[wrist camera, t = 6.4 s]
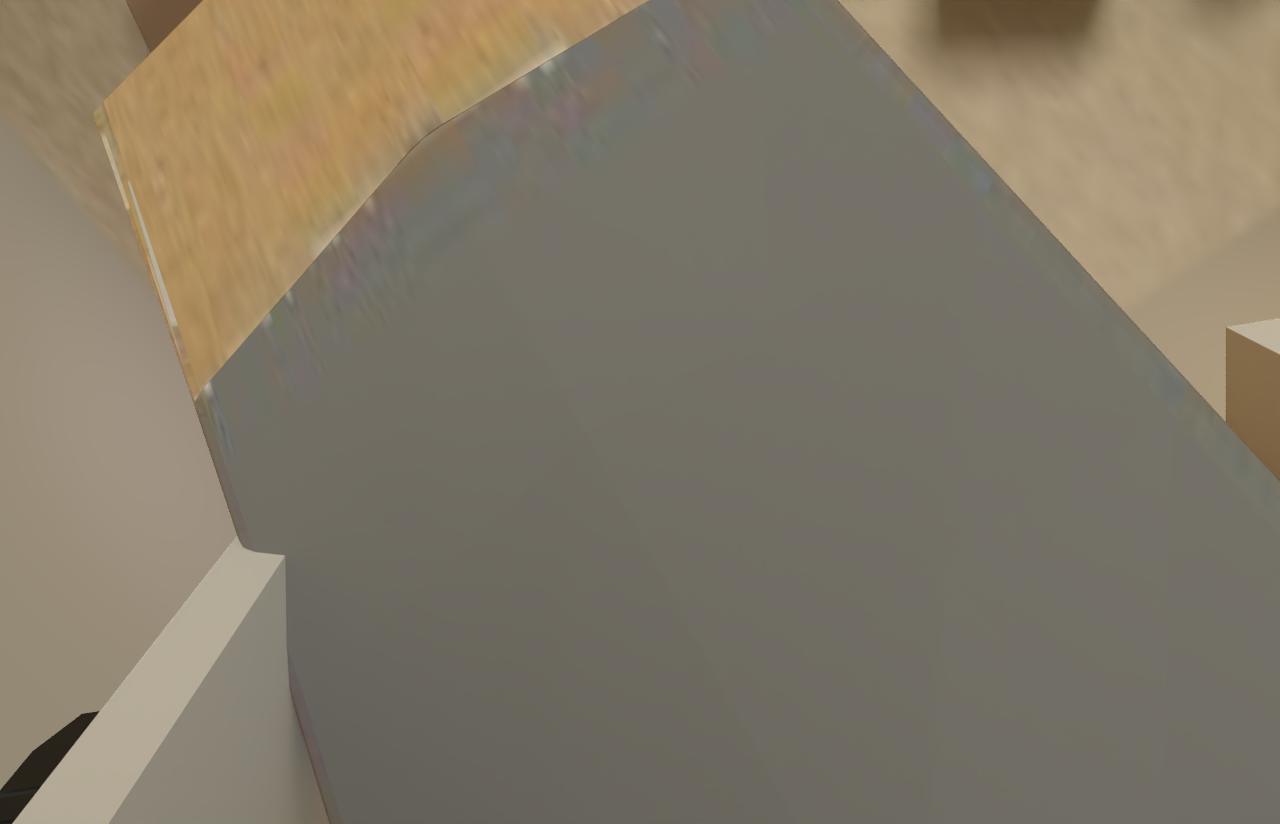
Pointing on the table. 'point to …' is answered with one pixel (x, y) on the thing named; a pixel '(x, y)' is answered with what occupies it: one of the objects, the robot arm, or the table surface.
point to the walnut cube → (159, 17)
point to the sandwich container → (688, 429)
